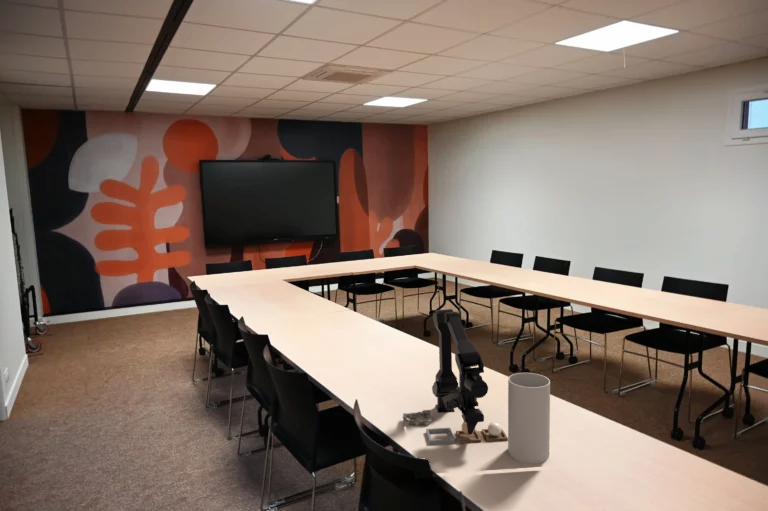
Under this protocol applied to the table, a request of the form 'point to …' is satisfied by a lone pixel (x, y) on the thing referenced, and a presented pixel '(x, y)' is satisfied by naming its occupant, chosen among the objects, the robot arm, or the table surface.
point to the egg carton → (419, 414)
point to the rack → (480, 437)
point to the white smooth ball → (494, 429)
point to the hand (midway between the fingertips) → (468, 430)
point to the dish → (440, 441)
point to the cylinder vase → (528, 417)
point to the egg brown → (465, 428)
